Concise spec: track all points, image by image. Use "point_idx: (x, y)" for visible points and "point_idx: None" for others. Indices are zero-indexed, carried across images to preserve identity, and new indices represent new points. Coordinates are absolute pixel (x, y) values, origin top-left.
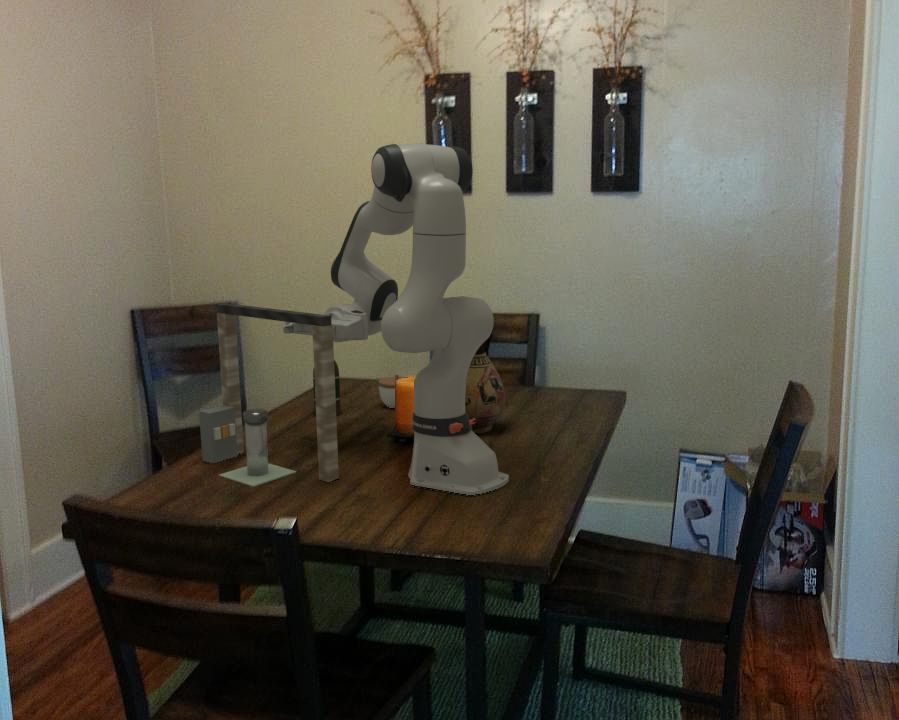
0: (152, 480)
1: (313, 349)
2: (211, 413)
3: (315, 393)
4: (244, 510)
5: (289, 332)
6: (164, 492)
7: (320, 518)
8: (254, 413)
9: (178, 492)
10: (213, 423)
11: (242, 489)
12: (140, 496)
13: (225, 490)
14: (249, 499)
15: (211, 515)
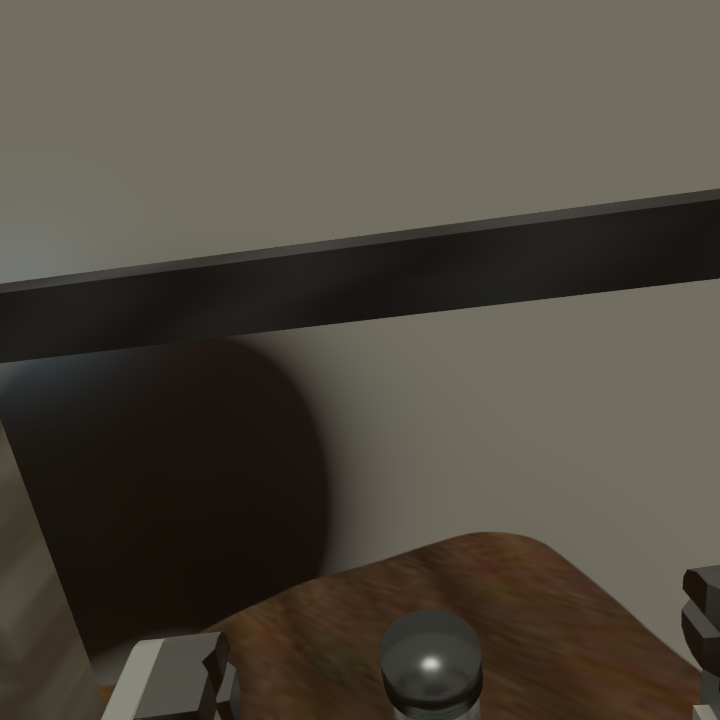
0: (613, 608)
1: (20, 477)
2: None
3: (92, 674)
4: (256, 639)
5: (698, 649)
6: (500, 592)
7: None
8: (405, 631)
9: (477, 608)
10: (712, 690)
11: (369, 710)
12: (511, 558)
13: None
14: (295, 680)
15: (299, 591)
